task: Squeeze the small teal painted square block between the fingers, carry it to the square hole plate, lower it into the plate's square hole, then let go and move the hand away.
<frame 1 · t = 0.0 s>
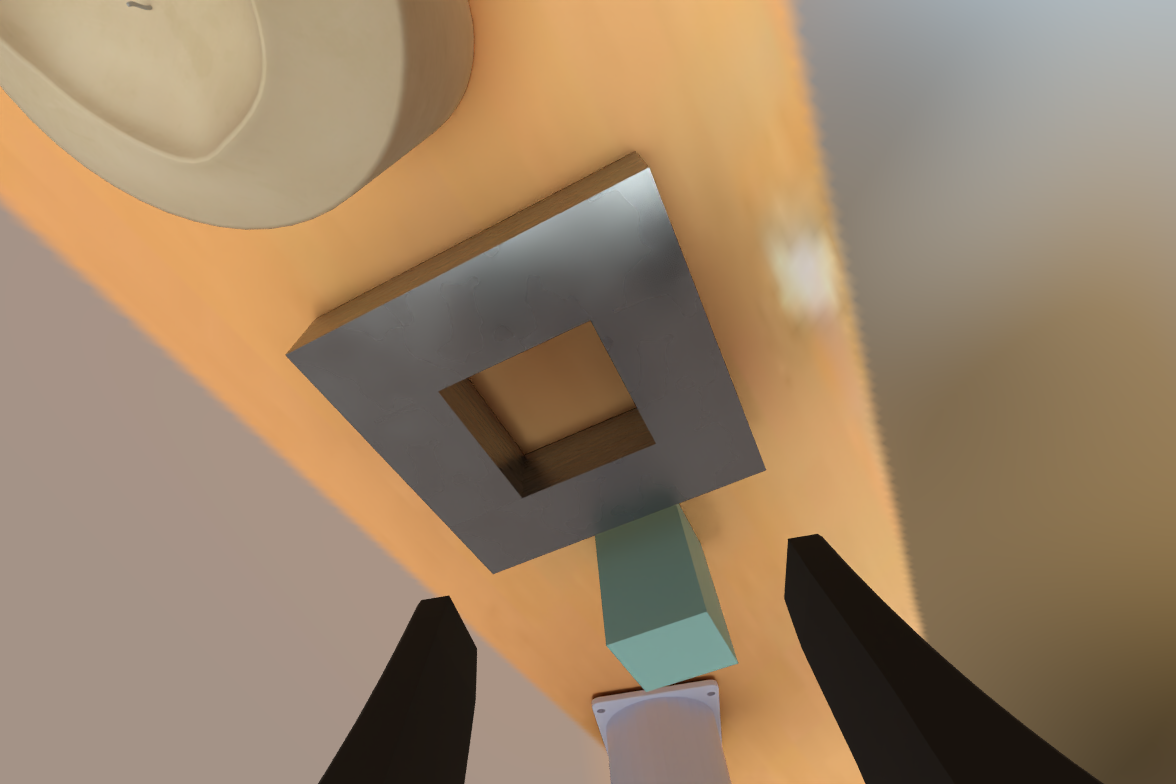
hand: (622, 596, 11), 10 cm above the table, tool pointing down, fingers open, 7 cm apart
peg block: (648, 534, 25), on the table
candle: (371, 29, 14), on the table
square hole plate: (551, 380, 20), on the table
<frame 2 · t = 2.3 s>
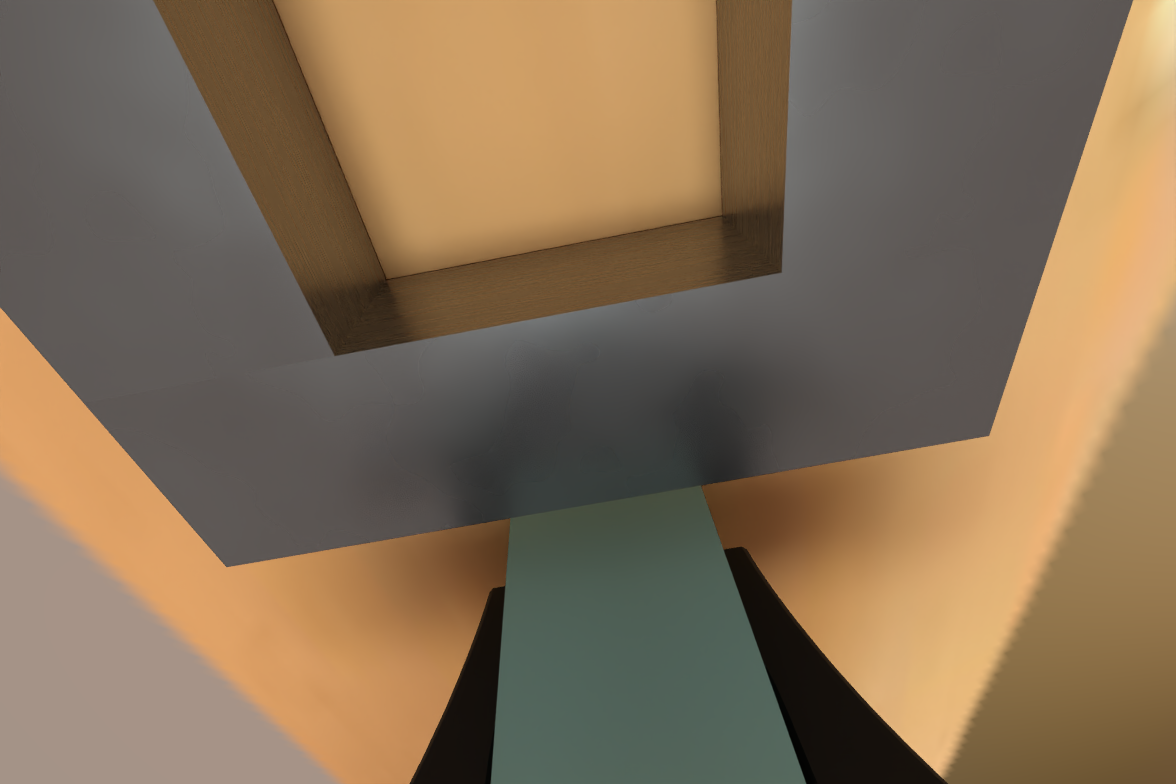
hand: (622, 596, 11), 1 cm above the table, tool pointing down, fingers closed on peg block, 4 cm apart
peg block: (615, 543, 12), on the table, touching gripper
square hole plate: (509, 46, 7), on the table
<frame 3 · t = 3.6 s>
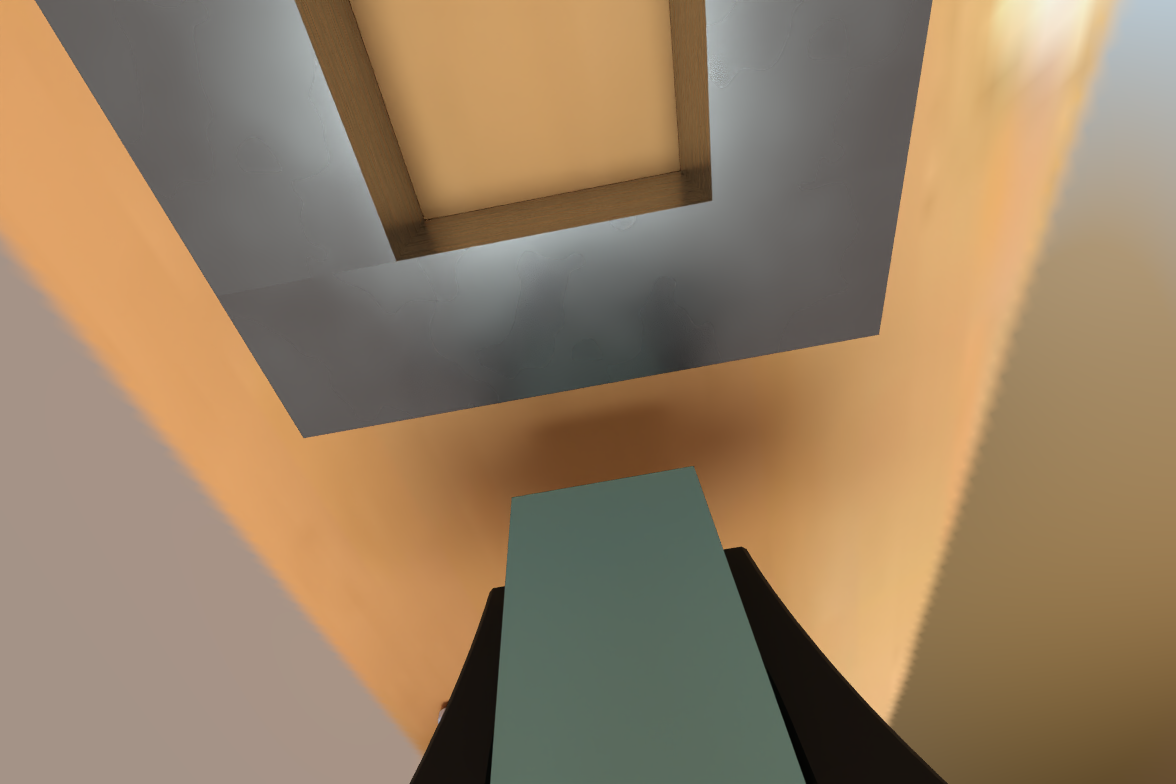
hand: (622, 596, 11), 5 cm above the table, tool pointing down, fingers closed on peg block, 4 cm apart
peg block: (615, 542, 12), point 3 cm above the table, touching gripper
square hole plate: (519, 41, 9), on the table
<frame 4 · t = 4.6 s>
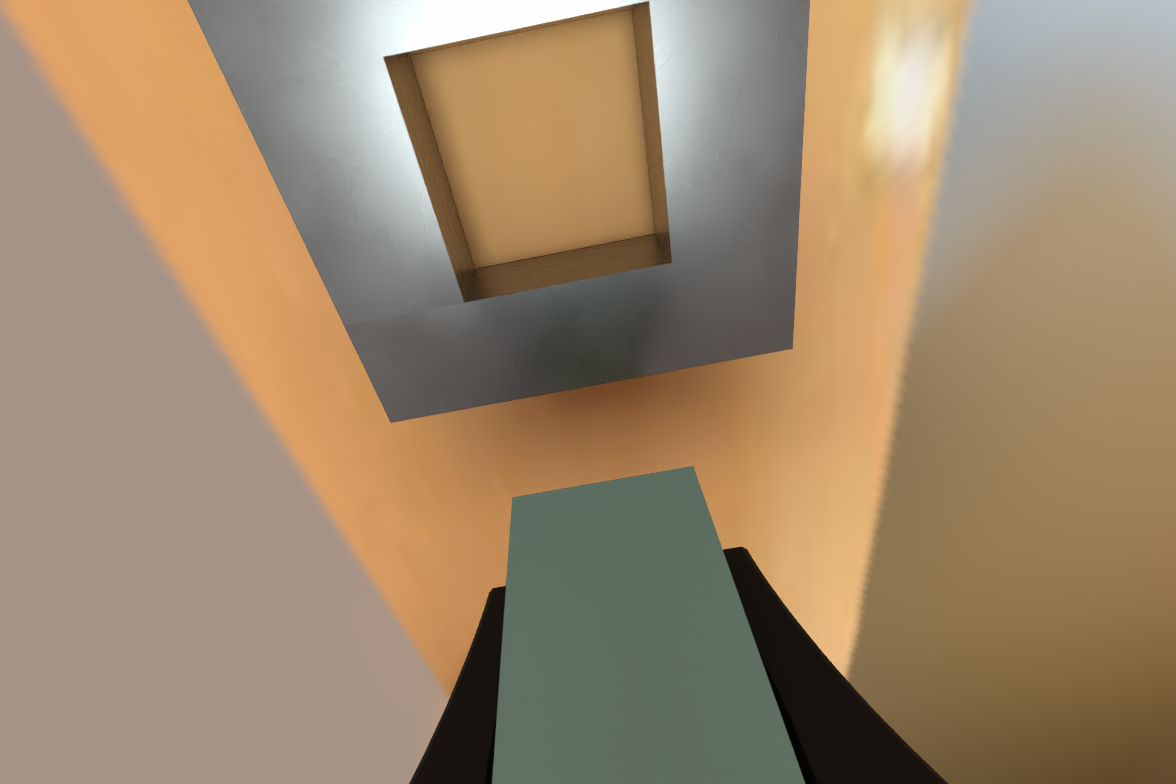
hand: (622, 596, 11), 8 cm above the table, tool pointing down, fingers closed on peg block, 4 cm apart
peg block: (614, 542, 13), point 7 cm above the table, touching gripper
square hole plate: (544, 153, 14), on the table
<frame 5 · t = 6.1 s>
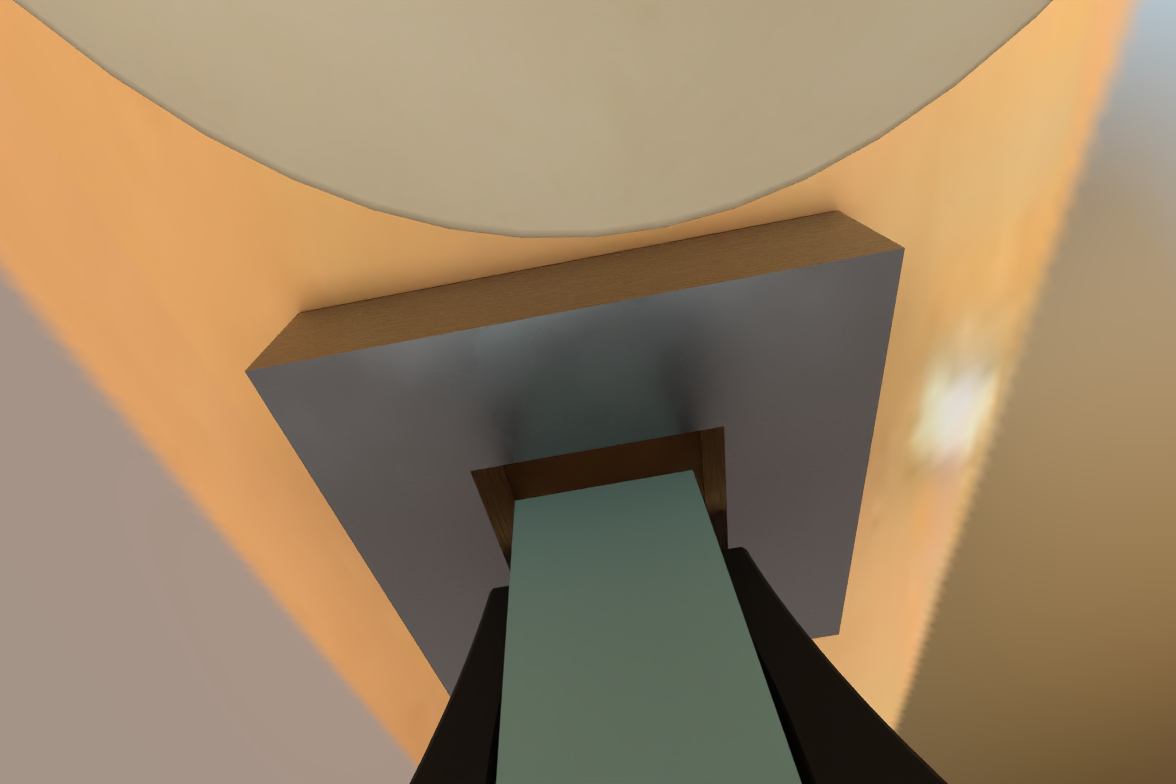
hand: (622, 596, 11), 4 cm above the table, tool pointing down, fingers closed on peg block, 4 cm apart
peg block: (615, 544, 13), point 3 cm above the table, touching gripper
square hole plate: (604, 465, 15), on the table
when the fingers open (3 cm above the table, at t = 7.1 s): peg block drops 2 cm, resting in square hole plate.
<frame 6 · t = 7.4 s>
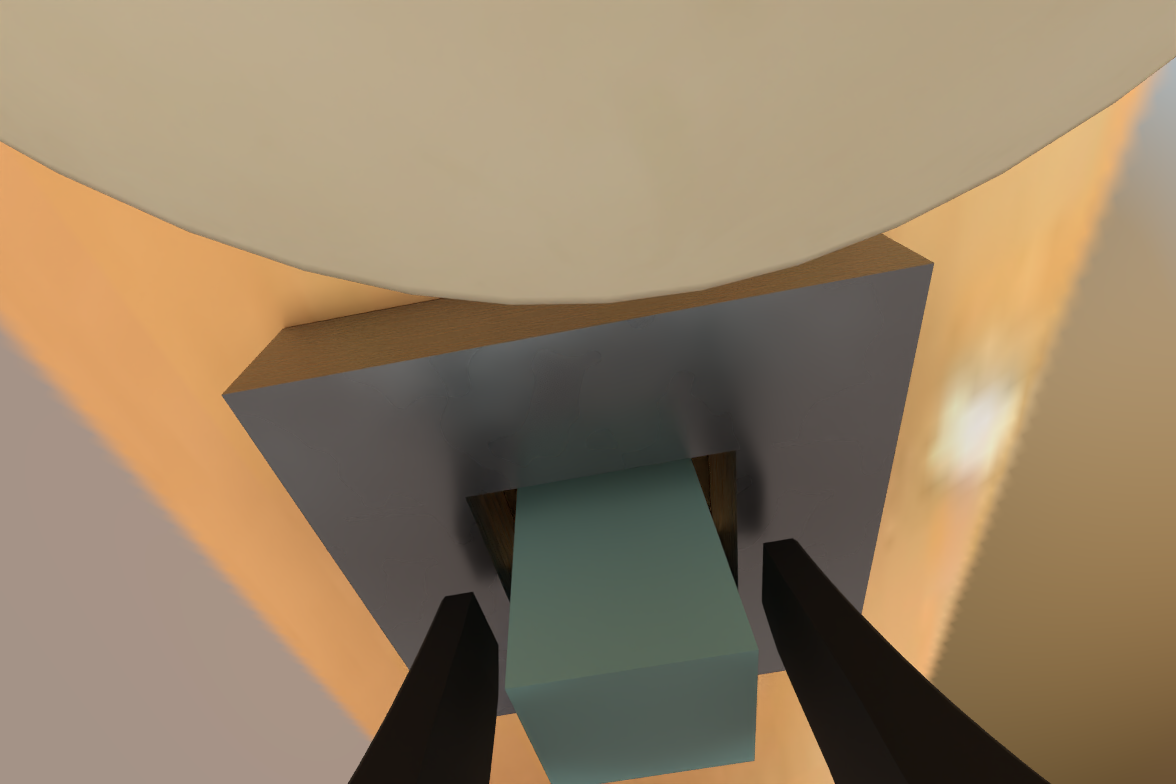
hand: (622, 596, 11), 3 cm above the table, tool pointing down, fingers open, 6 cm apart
peg block: (609, 489, 14), resting in square hole plate
square hole plate: (607, 485, 14), on the table
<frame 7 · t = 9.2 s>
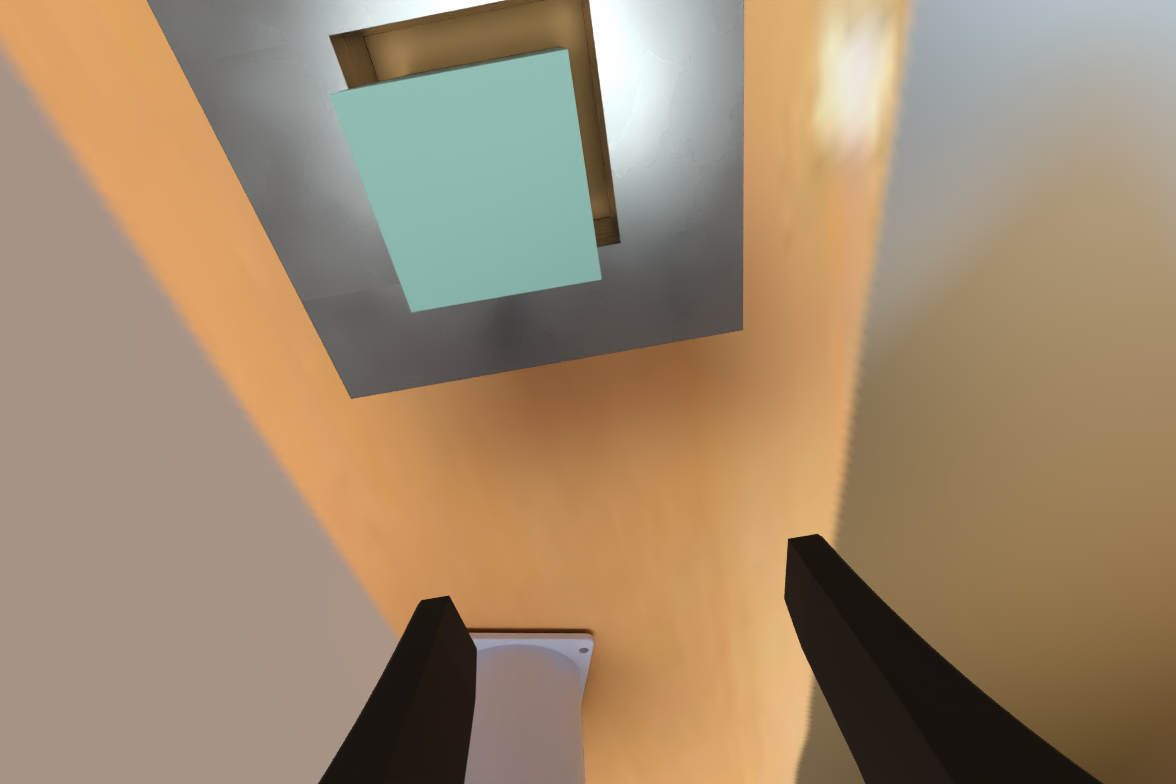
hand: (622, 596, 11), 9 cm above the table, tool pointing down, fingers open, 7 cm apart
peg block: (502, 144, 15), resting in square hole plate
square hole plate: (499, 135, 14), on the table
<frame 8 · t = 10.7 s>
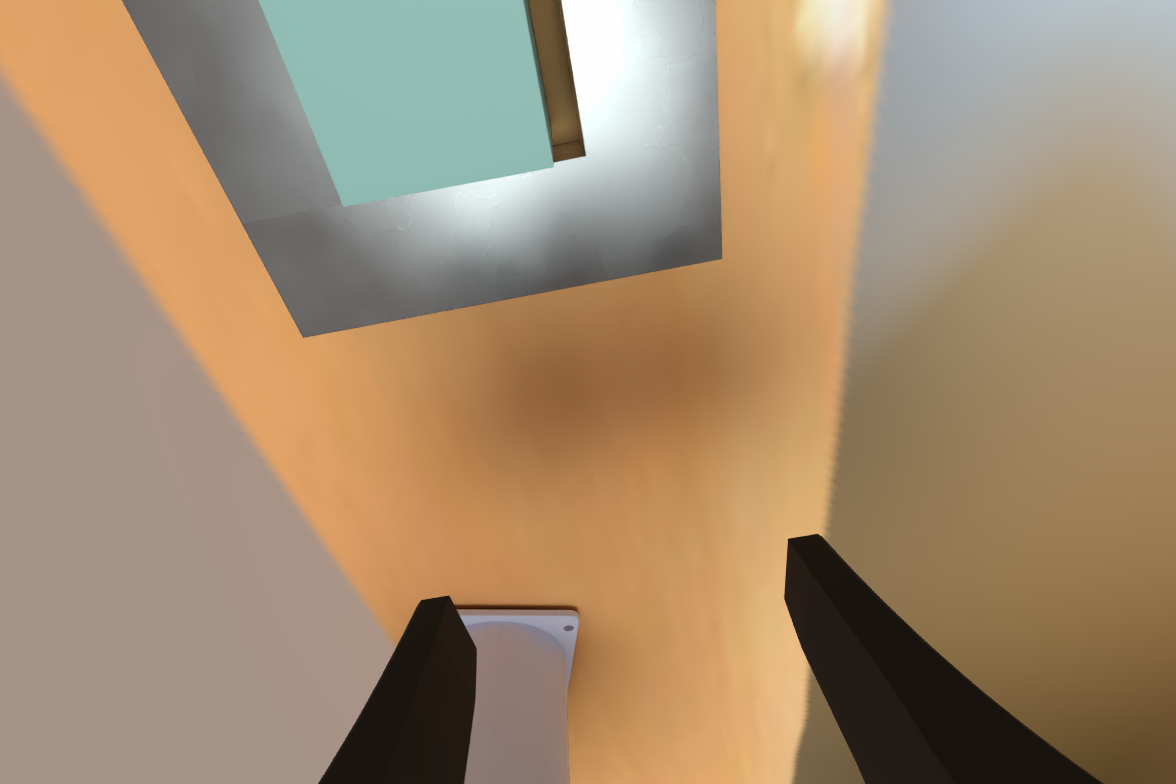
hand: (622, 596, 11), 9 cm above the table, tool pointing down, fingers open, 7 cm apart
peg block: (460, 56, 14), resting in square hole plate
square hole plate: (456, 45, 13), on the table
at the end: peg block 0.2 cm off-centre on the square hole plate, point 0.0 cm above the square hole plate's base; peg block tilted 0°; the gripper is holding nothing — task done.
